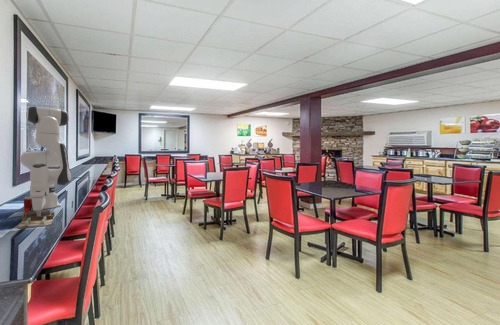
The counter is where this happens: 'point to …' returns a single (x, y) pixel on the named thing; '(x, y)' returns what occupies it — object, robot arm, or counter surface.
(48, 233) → the counter surface
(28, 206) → the canned food
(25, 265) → the counter surface
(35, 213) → the bar
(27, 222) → the lock board
